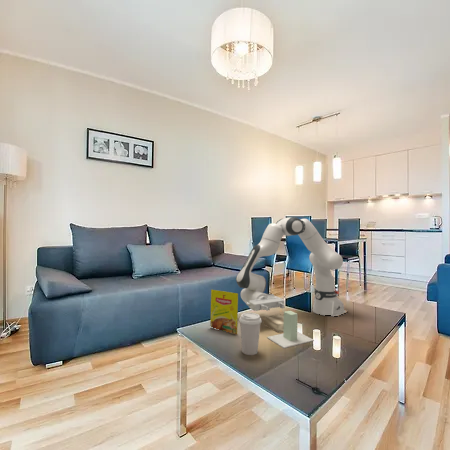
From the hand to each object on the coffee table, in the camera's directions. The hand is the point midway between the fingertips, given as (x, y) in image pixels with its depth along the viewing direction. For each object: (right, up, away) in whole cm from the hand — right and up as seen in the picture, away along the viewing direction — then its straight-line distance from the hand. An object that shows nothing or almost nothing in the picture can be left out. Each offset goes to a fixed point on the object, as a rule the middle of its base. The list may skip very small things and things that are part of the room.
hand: (276, 307), depth 132 cm
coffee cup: (-16, -11, -23) cm, 30 cm away
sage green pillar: (+5, -11, -10) cm, 16 cm away
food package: (-27, -12, -1) cm, 29 cm away
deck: (+3, -12, +6) cm, 14 cm away
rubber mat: (+5, -12, -10) cm, 16 cm away
